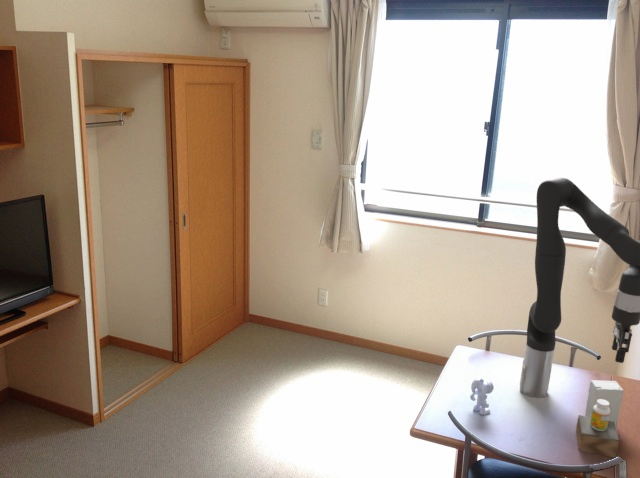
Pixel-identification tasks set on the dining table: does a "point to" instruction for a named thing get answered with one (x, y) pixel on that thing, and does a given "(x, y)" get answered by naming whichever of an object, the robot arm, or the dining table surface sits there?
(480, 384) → the toy figurine
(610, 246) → the robot arm
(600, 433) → the walnut block
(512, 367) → the dining table surface
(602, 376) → the dining table surface
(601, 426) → the supplement bottle
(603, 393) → the skincare box
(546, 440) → the dining table surface
